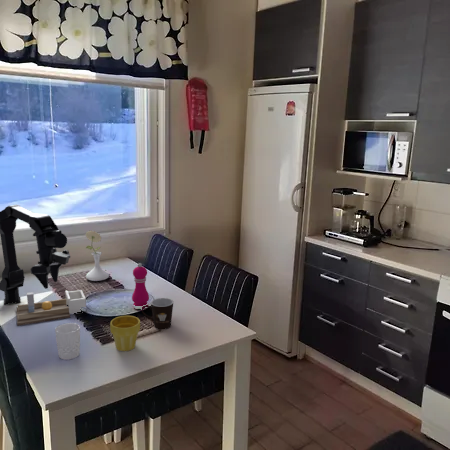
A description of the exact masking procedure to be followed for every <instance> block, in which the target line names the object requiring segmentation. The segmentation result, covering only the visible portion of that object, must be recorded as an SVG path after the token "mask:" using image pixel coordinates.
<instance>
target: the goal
mask: <svg viewBox="0 0 450 450" xmlns="http://www.w3.org/2000/svg"><path fill="white" fill-rule="evenodd" d="M64 293H65V299H66V304H67V305H68V307H69V313H70V315H73V314H74V313H76V314H78V313H77V312H81V310H80V308H81V307H86V308H87V302H86V301H87V299H86V296H85V294H84V292H83V290H82V289H78V290H71V291H68V290H65V292H64ZM74 315H75V314H74Z"/></svg>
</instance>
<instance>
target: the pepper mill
mask: <svg viewBox="0 0 450 450" xmlns="http://www.w3.org/2000/svg"><path fill="white" fill-rule="evenodd" d="M132 276H133V277H134V278H133V282H135V283H134V284H135V285H134V286H135V287H134V291H133V293H132V296H131V300H132V302H133V305H135V306H143V305H146V304H147V303H148V302H149V300H150V295H149V292H148V290H147V287H146V282H147V276H148V270H147V268H146V267H144V266H143V263H141V262H139V263H138V264H137V266H136V267H135V268H133V270H132Z"/></svg>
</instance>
